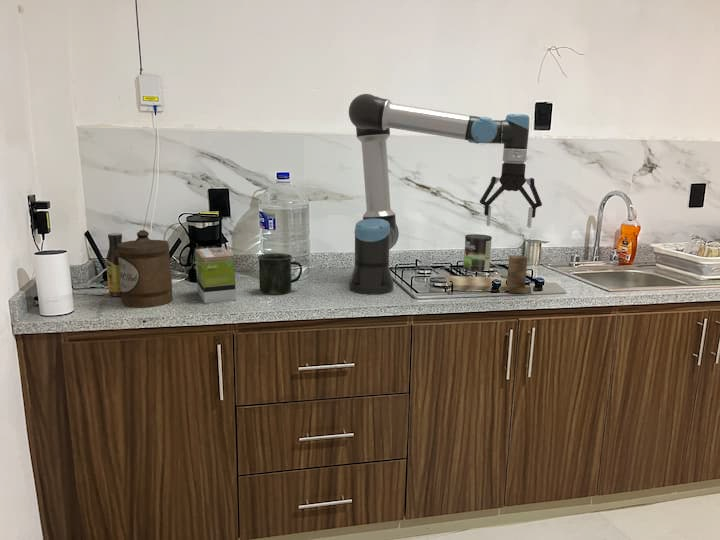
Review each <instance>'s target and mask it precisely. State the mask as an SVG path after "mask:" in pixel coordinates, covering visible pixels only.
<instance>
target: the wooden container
mask: <svg viewBox="0 0 720 540" xmlns="http://www.w3.org/2000/svg"><path fill="white" fill-rule="evenodd" d="M149 235H150V234H149V232H148V231H146V230H145V229H141V230H139V231H137V233H136V236H137V238H136V239H135V240H128V241H122V243H119V244H118V245H117V249H118V255H119V256H118V257H119V274H120V288H121V296H120V297H121V304H122V305H124V306H126V307H131V308H151V307H157V306H162V305H165V304H169V303H170V302H172V301H173V294H174V293H173V280H172V279H173V278H172V269H171V259H170V258H171V257H170V244H169V242H168V241H167V240H162V239H150V238H149Z"/></svg>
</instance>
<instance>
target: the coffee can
mask: <svg viewBox="0 0 720 540" xmlns="http://www.w3.org/2000/svg"><path fill="white" fill-rule="evenodd" d="M464 238H465V239H464V240H465V242H464V257H463V269H466V270H467V271H470V272H476V271H483V270H489V271H490V265H491V264H490V263H491V251H492V250H491V249H492V239H493V237H492V236H490V235H487V234H478V233H477V234H475V233H471V234H466V235H464Z"/></svg>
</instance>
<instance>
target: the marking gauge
mask: <svg viewBox="0 0 720 540" xmlns="http://www.w3.org/2000/svg"><path fill="white" fill-rule="evenodd" d="M507 267H508V269H507V278H508V279H507V284H508V285H509V293H510V294H526V293H525V282H527V279H526V278H527V270H528V268H527V267H528V257H526V256H525V255H522V254H519V255H518V254H515V255H514V254H513V255H512V254H509V255H508V265H507ZM509 293H508V294H509Z"/></svg>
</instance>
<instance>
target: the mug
mask: <svg viewBox="0 0 720 540" xmlns="http://www.w3.org/2000/svg"><path fill="white" fill-rule="evenodd" d="M292 258H293V256H292V255H291V254H289V253H281V252H280V253H279V252H276V253H264V254H259V255H257V260H258V274H259V275H258V277H259V279H258V280H259V282H258V283H259V291H260V293H261V294H265V295H271V296H272V295H274V296H275V295H286V294H288V293H290V292H291V290H292V284H293V283H296V282H298V281H299V280H300V279H301V276H302V273H303V266H302V264H301V263H300V262H297V261H291V260H292ZM292 265H295V266H298V267H299V272H298V275H297V277H295V278H294V279H292Z"/></svg>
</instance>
